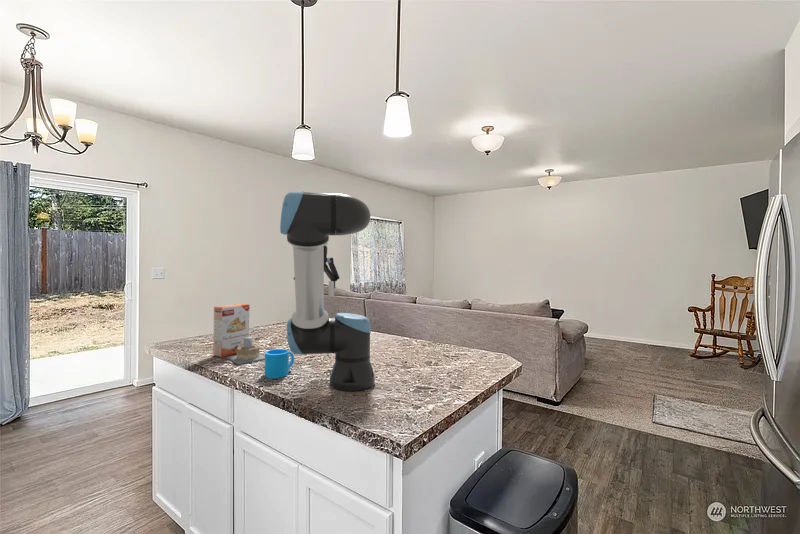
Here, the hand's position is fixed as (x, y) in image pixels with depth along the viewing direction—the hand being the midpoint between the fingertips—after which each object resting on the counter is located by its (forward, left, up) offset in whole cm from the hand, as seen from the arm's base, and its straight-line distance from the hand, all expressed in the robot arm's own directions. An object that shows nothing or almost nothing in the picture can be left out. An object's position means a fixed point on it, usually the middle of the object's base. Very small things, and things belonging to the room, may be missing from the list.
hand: (317, 297), depth 151 cm
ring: (+20, +20, -25) cm, 38 cm away
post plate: (+20, +20, -26) cm, 38 cm away
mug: (-6, +18, -26) cm, 32 cm away
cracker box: (+33, +22, -26) cm, 48 cm away
